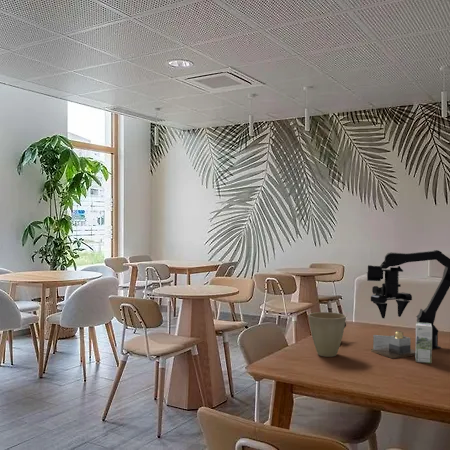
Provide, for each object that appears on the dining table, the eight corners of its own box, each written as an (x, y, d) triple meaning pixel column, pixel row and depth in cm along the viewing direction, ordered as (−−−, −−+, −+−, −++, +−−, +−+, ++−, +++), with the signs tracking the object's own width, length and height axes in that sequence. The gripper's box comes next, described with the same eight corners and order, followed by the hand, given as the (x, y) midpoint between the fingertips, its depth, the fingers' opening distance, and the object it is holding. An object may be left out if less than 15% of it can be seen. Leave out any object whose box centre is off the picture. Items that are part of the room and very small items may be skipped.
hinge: (398, 347, 216) (398, 331, 216) (420, 354, 205) (420, 337, 205) (371, 351, 210) (371, 334, 210) (392, 358, 199) (392, 340, 199)
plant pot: (352, 354, 205) (352, 315, 205) (333, 361, 194) (333, 320, 194) (320, 347, 215) (321, 310, 215) (300, 354, 205) (301, 315, 204)
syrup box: (431, 359, 197) (431, 322, 197) (431, 364, 192) (432, 325, 192) (415, 358, 199) (415, 321, 199) (415, 362, 194) (416, 324, 194)
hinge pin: (404, 352, 205) (404, 332, 205) (398, 352, 204) (398, 333, 204) (399, 350, 208) (399, 330, 208) (393, 351, 207) (393, 331, 207)
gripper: (394, 278, 232) (394, 312, 232) (362, 280, 224) (362, 315, 224) (412, 281, 222) (412, 316, 222) (379, 283, 214) (379, 320, 214)
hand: (391, 317), depth 221 cm, fingers open, 9 cm apart
